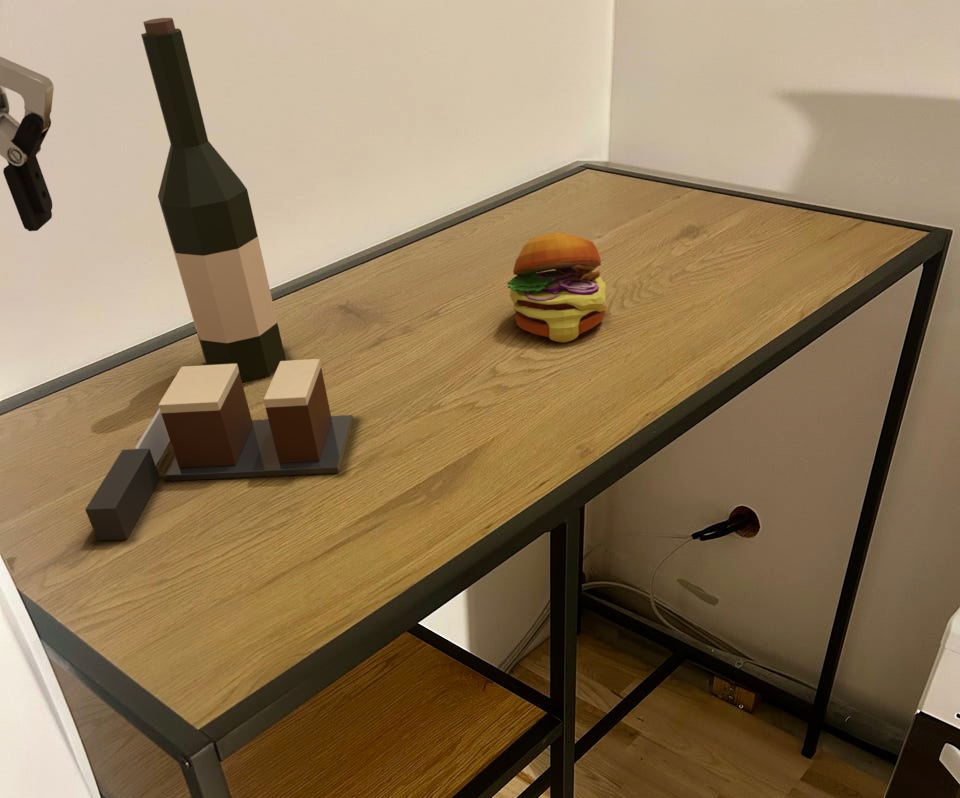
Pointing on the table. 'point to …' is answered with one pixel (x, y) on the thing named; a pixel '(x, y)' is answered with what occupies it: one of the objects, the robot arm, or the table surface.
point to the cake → (206, 415)
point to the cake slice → (298, 411)
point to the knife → (128, 485)
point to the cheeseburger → (558, 287)
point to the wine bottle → (210, 223)
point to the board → (272, 456)
